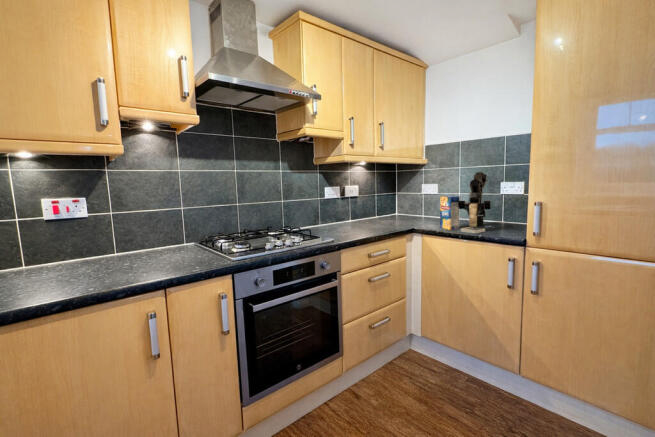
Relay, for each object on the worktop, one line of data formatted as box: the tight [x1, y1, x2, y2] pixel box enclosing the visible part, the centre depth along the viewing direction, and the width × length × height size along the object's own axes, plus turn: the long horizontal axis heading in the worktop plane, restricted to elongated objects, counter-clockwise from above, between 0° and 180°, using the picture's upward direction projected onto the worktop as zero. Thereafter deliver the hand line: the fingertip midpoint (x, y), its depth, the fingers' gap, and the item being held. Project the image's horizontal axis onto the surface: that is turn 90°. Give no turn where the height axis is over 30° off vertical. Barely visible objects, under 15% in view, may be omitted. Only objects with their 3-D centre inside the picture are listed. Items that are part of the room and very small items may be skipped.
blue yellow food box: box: [439, 195, 461, 231], centre depth 206 cm, size 7×11×22 cm, turn 16°
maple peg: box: [468, 204, 478, 227], centre depth 192 cm, size 4×4×14 cm
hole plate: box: [460, 226, 486, 234], centre depth 193 cm, size 10×10×2 cm
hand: (472, 215), depth 191 cm, fingers closed on maple peg, 4 cm apart
